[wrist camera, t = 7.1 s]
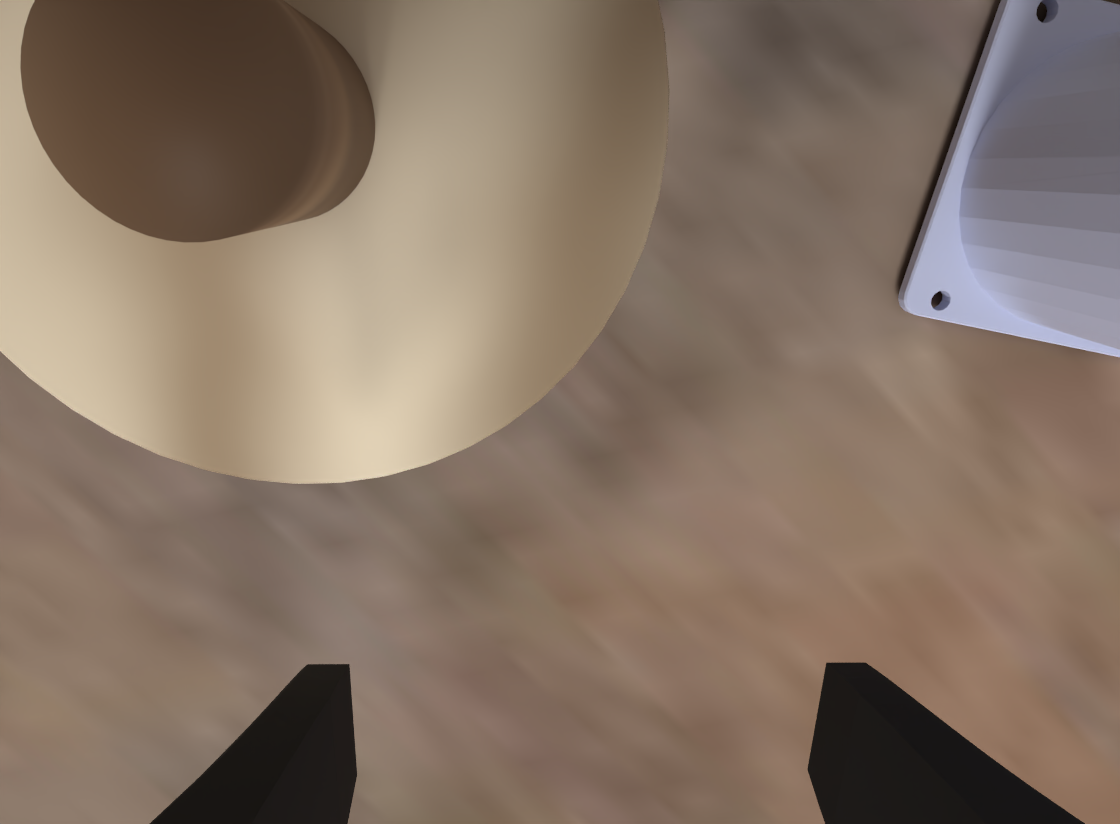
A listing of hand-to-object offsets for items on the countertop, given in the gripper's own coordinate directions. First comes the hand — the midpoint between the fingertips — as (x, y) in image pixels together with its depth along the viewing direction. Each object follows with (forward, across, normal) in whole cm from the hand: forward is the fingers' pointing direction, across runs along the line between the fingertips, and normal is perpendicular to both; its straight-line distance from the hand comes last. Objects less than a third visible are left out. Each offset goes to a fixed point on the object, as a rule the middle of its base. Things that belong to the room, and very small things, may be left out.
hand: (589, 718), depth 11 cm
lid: (+6, +6, -8) cm, 12 cm away
